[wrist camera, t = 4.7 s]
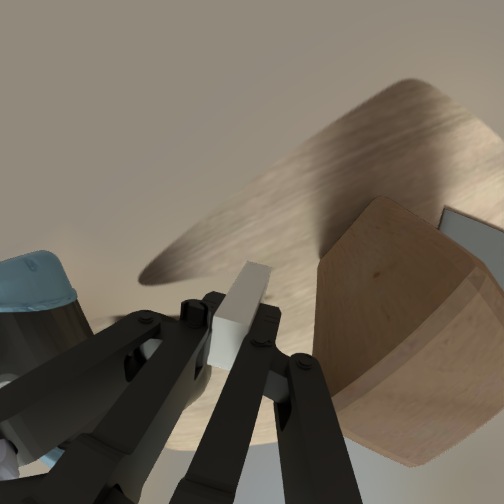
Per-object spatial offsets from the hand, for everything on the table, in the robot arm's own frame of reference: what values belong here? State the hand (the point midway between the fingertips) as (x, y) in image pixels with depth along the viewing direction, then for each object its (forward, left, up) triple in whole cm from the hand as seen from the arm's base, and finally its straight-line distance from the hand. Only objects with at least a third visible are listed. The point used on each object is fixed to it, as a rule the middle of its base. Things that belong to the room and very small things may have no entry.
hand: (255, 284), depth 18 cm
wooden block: (+11, 0, -13) cm, 17 cm away
